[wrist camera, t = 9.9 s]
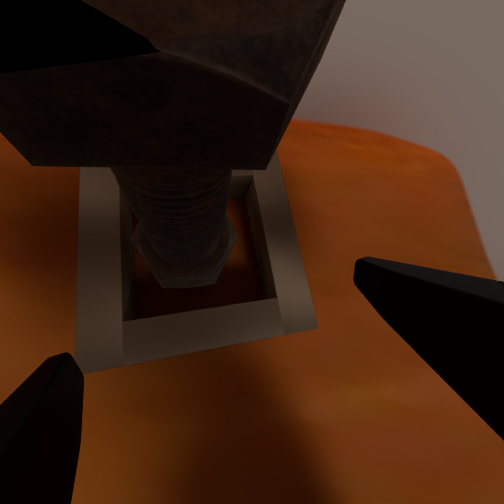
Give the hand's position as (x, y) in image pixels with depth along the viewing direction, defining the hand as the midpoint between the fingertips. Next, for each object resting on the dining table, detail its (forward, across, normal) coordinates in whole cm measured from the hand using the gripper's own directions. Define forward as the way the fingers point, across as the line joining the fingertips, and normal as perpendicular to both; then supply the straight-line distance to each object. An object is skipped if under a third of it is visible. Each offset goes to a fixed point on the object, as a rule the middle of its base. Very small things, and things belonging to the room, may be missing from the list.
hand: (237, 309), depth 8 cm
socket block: (+10, 0, +3) cm, 10 cm away
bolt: (+9, +1, +3) cm, 10 cm away
